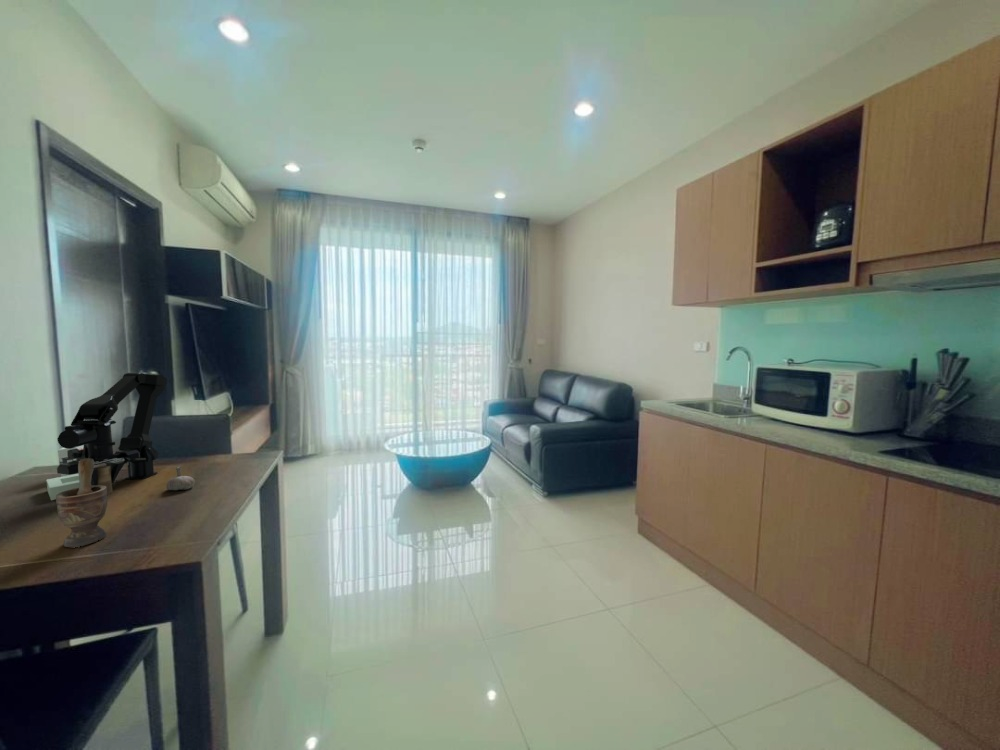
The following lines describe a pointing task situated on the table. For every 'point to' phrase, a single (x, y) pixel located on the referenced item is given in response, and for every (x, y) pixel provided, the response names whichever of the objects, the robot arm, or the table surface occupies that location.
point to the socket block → (61, 484)
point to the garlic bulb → (180, 482)
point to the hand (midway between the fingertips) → (103, 486)
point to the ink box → (66, 456)
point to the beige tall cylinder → (105, 477)
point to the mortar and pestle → (83, 508)
